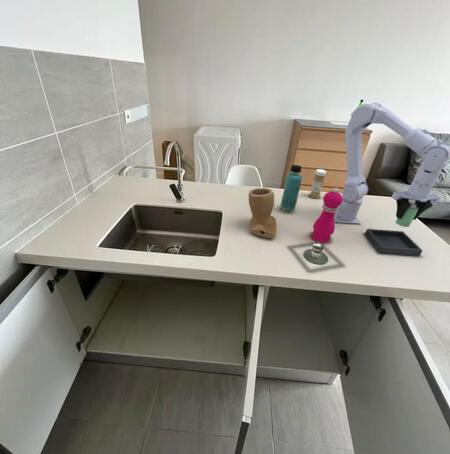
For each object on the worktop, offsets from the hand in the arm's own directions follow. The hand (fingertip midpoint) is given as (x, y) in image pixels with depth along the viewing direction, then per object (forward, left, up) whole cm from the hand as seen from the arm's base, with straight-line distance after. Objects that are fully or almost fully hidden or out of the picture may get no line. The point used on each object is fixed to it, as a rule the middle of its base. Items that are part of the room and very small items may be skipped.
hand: (405, 218), depth 86 cm
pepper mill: (-28, -3, -10) cm, 30 cm away
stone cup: (-50, +1, -10) cm, 51 cm away
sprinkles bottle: (-21, +33, -10) cm, 41 cm away
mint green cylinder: (0, 0, -2) cm, 2 cm away
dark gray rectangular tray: (-3, -4, -9) cm, 11 cm away
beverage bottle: (-37, +17, -10) cm, 42 cm away
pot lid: (-33, -14, -10) cm, 37 cm away
